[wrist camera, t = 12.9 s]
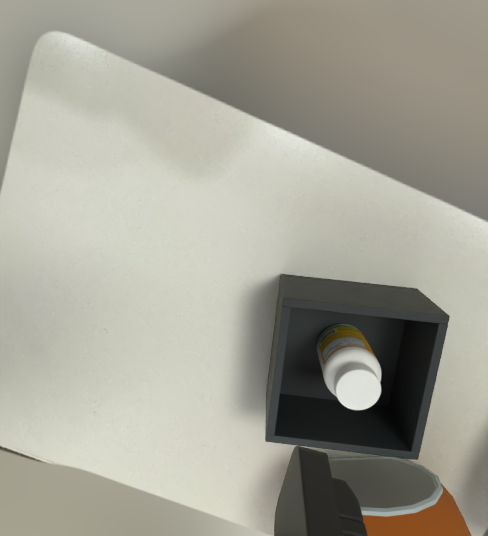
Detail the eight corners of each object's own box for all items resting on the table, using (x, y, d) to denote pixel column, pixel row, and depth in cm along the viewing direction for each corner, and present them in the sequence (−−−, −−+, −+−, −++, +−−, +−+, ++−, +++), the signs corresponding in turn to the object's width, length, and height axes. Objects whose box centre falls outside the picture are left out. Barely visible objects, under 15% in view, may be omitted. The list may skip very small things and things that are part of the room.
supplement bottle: (362, 370, 48) (385, 420, 38) (313, 365, 48) (324, 414, 39) (369, 324, 47) (394, 365, 37) (319, 320, 47) (331, 359, 37)
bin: (280, 273, 46) (283, 297, 38) (417, 288, 46) (450, 316, 38) (266, 395, 50) (265, 441, 42) (392, 410, 49) (418, 460, 41)
